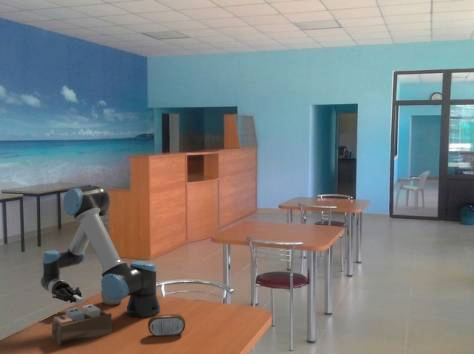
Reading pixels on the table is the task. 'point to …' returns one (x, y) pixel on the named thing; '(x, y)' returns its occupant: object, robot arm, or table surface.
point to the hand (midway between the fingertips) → (80, 301)
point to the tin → (166, 325)
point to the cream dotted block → (91, 310)
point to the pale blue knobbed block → (75, 314)
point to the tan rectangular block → (62, 320)
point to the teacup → (108, 300)
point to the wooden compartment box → (82, 329)
